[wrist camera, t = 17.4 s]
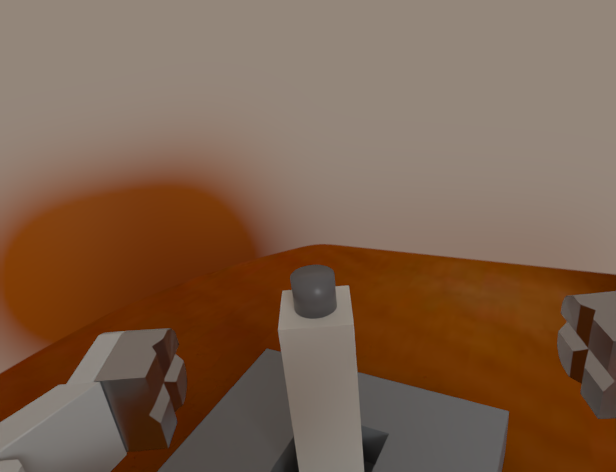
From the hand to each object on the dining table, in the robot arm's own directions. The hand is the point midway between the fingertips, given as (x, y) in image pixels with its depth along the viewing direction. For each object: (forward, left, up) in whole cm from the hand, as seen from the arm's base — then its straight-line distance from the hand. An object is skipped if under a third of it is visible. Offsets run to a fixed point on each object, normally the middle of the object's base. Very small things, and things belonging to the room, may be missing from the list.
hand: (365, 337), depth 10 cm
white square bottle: (-12, -8, -24) cm, 28 cm away
